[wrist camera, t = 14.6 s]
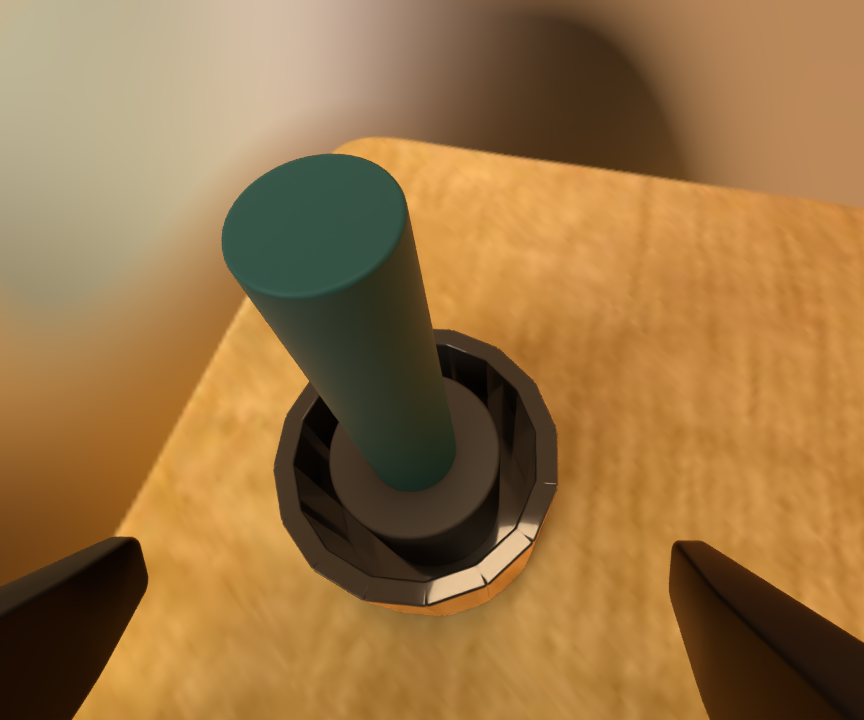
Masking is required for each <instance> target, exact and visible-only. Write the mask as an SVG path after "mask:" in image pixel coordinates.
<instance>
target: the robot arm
mask: <svg viewBox="0 0 864 720" xmlns="http://www.w3.org/2000/svg"><path fill="white" fill-rule="evenodd" d="M147 586H148V573H147V569H146V565H145V561H144V557H143V553H142V549H141V545H140V543H139V541H138V540H137V539H136V538H134V537H111V538H108V539H106V540H103V541H101V542H99V543H97V544H94V545H92V546H90V547H88V548H86V549H83V550H81V551H79V552H77V553H74V554H72V555H70V556H68V557H65V558H63V559H61V560H59V561H57V562H54V563H52V564H50V565H47V566H45V567H43V568H41V569H38V570H36V571H34V572H32V573H29V574H27V575H25V576H23V577H21V578H18V579H16V580H14V581H12V582H9V583H7V584H5V585H3V586H0V720H72V719H73V717H74V716H75V714H76V713H77V711H78V710H79V708H80V707H81V705H82V704H83V702H84V700H85V699H86V697H87V696H88V694H89V693H90V691H91V690H92V688H93V686H94V685H95V683H96V681H97V680H98V678H99V677H100V675H101V673H102V671H103V669H104V668H105V666H106V664H107V662H108V661H109V659H110V657H111V655H112V653H113V651H114V649H115V648H116V646H117V644H118V642H119V640H120V638H121V636H122V635H123V633H124V631H125V629H126V627H127V625H128V623H129V622H130V620H131V618H132V616H133V614H134V612H135V610H136V609H137V607H138V605H139V603H140V601H141V599H142V597H143V596H144V594H145V592H146V589H147ZM669 594H670V599H671V603H672V606H673V609H674V612H675V616H676V619H677V622H678V625H679V628H680V632H681V635H682V638H683V641H684V645H685V648H686V651H687V654H688V657H689V661H690V664H691V667H692V670H693V674H694V677H695V680H696V683H697V686H698V689H699V692H700V695H701V698H702V701H703V703H704V706H705V708H706V711H707V713H708V716H709V718H710V720H864V643H863V642H862V641H860V640H859V639H857V638H855V637H854V636H852V635H851V634H849V633H848V632H846V631H844V630H843V629H841V628H840V627H838V626H836V625H835V624H833V623H832V622H830V621H828V620H827V619H825V618H824V617H822V616H821V615H819V614H817V613H816V612H814V611H813V610H811V609H809V608H808V607H806V606H805V605H803V604H802V603H800V602H798V601H797V600H795V599H794V598H792V597H790V596H789V595H787V594H786V593H784V592H783V591H781V590H779V589H778V588H776V587H775V586H773V585H771V584H770V583H768V582H767V581H765V580H764V579H762V578H760V577H759V576H757V575H756V574H754V573H752V572H751V571H749V570H748V569H746V568H744V567H743V566H741V565H740V564H738V563H737V562H735V561H733V560H732V559H730V558H729V557H727V556H725V555H724V554H722V553H721V552H719V551H718V550H716V549H714V548H713V547H711V546H710V545H708V544H706V543H705V542H703V541H681V540H678V541H676V542H675V543H674V544H673V546H672V551H671V563H670V576H669Z"/></svg>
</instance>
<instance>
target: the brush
mask: <svg viewBox="0 0 864 720" xmlns="http://www.w3.org/2000/svg"><path fill="white" fill-rule="evenodd" d="M222 251H223V256H224V260H225V262H226V264H227V266H228V268H229V270H230V271H231V273H232V274H233V276H234V277H235V279H236V280H237V281H238V283H239V284H240V285H241V287H242V288H243V290H244V291H245V292H246V294H247V295H248V297H249V298H250V299H251V301H252V302H253V304H254V305H255V306H256V308H257V309H258V310H259V312H260V313H261V315H262V316H263V317H264V319H265V320H266V322H267V323H268V324H269V326H270V327H271V328H272V330H273V331H274V333H275V334H276V335H277V337H278V338H279V340H280V341H281V342H282V344H283V345H284V346H285V348H286V349H287V351H288V352H289V353H290V355H291V356H292V358H293V359H294V360H295V362H296V363H297V364H298V366H299V367H300V369H301V370H302V371H303V373H304V374H305V376H306V377H307V378H308V380H309V381H310V382H311V384H312V385H313V387H314V388H315V389H316V391H317V392H318V394H319V395H320V396H321V398H322V399H323V400H324V402H325V403H326V405H327V406H328V407H329V409H330V410H331V412H332V413H333V414H334V416H335V417H336V418H337V420H338V421H339V423H338V425H337V427H336V430H335V432H334V435H333V438H332V442H331V447H330V455H329V467H330V474H331V479H332V483H333V486H334V489H335V491H336V494H337V496H338V498H339V500H340V501H341V503H342V505H343V506H344V508H345V509H346V510H347V511H348V512H349V514H350V515H351V516H352V517H353V518H355V519H356V520H357V521H358V522H359V523H360V524H361V525H362V526H364V527H365V528H366V529H367V530H368V531H370V532H371V533H372V534H373V535H374V536H375V537H377V538H378V539H379V540H380V541H381V542H382V543H384V544H385V545H386V546H387V547H388V548H389V549H391V550H392V551H393V552H394V553H396V554H397V555H399V556H400V557H402V558H404V559H406V560H408V561H411V562H414V563H417V564H423V565H443V564H448V563H451V562H455V561H457V560H459V559H462V558H464V557H465V556H467V555H469V554H470V553H472V552H473V551H474V550H475V549H477V548H478V547H479V546H480V545H481V543H482V542H483V541H484V540H485V539H486V537H487V536H488V535H489V533H490V531H491V529H492V527H493V525H494V523H495V520H496V518H497V513H498V509H499V497H500V441H499V435H498V431H497V428H496V425H495V422H494V420H493V418H492V416H491V414H490V412H489V411H488V409H487V408H486V406H485V405H484V404H483V402H482V401H481V400H480V399H479V398H478V397H477V396H476V395H475V394H474V393H473V392H472V391H471V390H469V389H468V388H466V387H465V386H463V385H462V384H460V383H458V382H456V381H454V380H452V379H449V378H446V377H443V376H442V372H441V367H440V362H439V358H438V353H437V348H436V343H435V338H434V333H433V328H432V323H431V319H430V314H429V309H428V304H427V299H426V294H425V289H424V285H423V280H422V275H421V270H420V265H419V260H418V255H417V250H416V246H415V241H414V236H413V231H412V226H411V221H410V216H409V212H408V207H407V202H406V199H405V195H404V193H403V191H402V189H401V187H400V186H399V184H398V183H397V181H396V180H395V179H394V178H393V177H392V176H391V175H390V174H389V173H388V172H387V171H386V170H385V169H383V168H382V167H380V166H379V165H377V164H375V163H373V162H371V161H369V160H366V159H363V158H360V157H356V156H352V155H344V154H320V155H314V156H308V157H304V158H300V159H296V160H293V161H290V162H288V163H285V164H283V165H281V166H278V167H276V168H274V169H272V170H271V171H269V172H267V173H265V174H264V175H263V176H261V177H260V178H258V179H257V180H256V181H254V182H253V183H252V184H251V185H250V186H248V187H247V188H246V189H245V190H244V191H243V193H242V194H241V195H240V196H239V197H238V198H237V200H236V201H235V202H234V204H233V206H232V207H231V209H230V210H229V213H228V215H227V217H226V219H225V223H224V226H223V230H222Z"/></svg>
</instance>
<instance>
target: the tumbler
mask: <svg viewBox="0 0 864 720" xmlns="http://www.w3.org/2000/svg"><path fill="white" fill-rule="evenodd" d="M433 333H434V338H435V343H436V348H437V353H438V358H439V362H440V367H441V372H442V376H443V377H446V378H449V379H452V380H454V381H456V382H458V383H460V384H462V385H463V386H465V387H466V388H468V389H469V390H471V391H472V392H473V393H474V394H475V395H476V396H477V397H478V398H479V399H480V400H481V401H482V402H483V404H484V405H485V406H486V408H487V409H488V411H489V412H490V414H491V416H492V418H493V420H494V422H495V425H496V428H497V431H498V435H499V441H500V497H499V509H498V513H497V518H496V520H495V523H494V525H493V527H492V529H491V531H490V533H489V535H488V536H487V537H486V539H485V540H484V541H483V542H482V543H481V545H480V546H479V547H478V548H477V549H475V550H474V551H473V552H472V553H470V554H469V555H467V556H465V557H464V558H462V559H459V560H457V561H455V562H451V563H448V564H443V565H423V564H417V563H414V562H411V561H408V560H406V559H404V558H402V557H400V556H399V555H397V554H396V553H394V552H393V551H392V550H391V549H389V548H388V547H387V546H386V545H385V544H384V543H382V542H381V541H380V540H379V539H378V538H377V537H375V536H374V535H373V534H372V533H371V532H370V531H368V530H367V529H366V528H365V527H364V526H362V525H361V524H360V523H359V522H358V521H357V520H356V519H355V518H353V517H352V516H351V515H350V514H349V512H348V511H347V510H346V509H345V508H344V506H343V505H342V503H341V501H340V500H339V498H338V496H337V494H336V491H335V489H334V486H333V483H332V479H331V474H330V467H329V455H330V447H331V442H332V438H333V435H334V432H335V430H336V427H337V425H338V423H339V421H338V420H337V418H336V417H335V416H334V414H333V413H332V412H331V410H330V409H329V407H328V406H327V405H326V403H325V402H324V400H323V399H322V398H321V396H320V395H319V394H318V392H317V391H316V389H315V388H314V387H313V385H312V384H311V382H310V381H309V383H308V384H307V385H306V387H305V388H304V390H303V391H302V393H301V394H300V396H299V397H298V399H297V400H296V402H295V403H294V405H293V406H292V408H291V409H290V410H289V412H288V413H287V417H286V418H285V421H284V425H283V430H282V434H281V438H280V442H279V446H278V450H277V454H276V458H275V462H274V477H275V483H276V490H277V496H278V503H279V509H280V516H281V520H282V521H283V525H284V527H285V528H286V530H287V532H288V533H289V535H290V536H291V538H292V539H293V541H294V542H295V544H296V545H297V547H298V548H299V550H300V552H301V553H302V555H303V556H304V558H305V559H306V561H307V562H308V564H309V565H310V567H311V568H312V569H313V570H314V571H315V572H316V573H318V574H320V575H321V576H323V577H325V578H326V579H328V580H329V581H331V582H333V583H334V584H336V585H338V586H339V587H341V588H342V589H344V590H346V591H347V592H349V593H351V594H352V595H354V596H356V597H357V598H359V599H360V600H363V601H366V602H369V603H372V604H376V605H379V606H383V607H386V608H389V609H393V610H396V611H400V612H407V613H416V614H422V615H436V616H448V615H451V614H455V613H458V612H462V611H466V610H469V609H472V608H474V607H476V606H479V605H481V604H483V603H485V602H488V601H489V600H491V599H493V598H494V597H495V596H496V595H497V594H498V593H500V592H501V591H502V590H503V589H505V588H506V587H507V586H508V585H509V584H510V583H511V582H512V581H513V579H514V578H515V577H516V576H517V575H518V574H519V573H520V572H521V571H522V570H523V569H524V567H525V566H526V564H527V562H528V560H529V557H530V555H531V552H532V550H533V548H534V545H535V543H536V541H537V538H538V536H539V533H540V531H541V529H542V526H543V524H544V521H545V519H546V516H547V514H548V511H549V509H550V506H551V504H552V501H553V499H554V497H555V494H556V492H557V486H558V440H557V431H556V426H555V424H554V422H553V420H552V418H551V415H550V413H549V411H548V409H547V407H546V404H545V402H544V400H543V398H542V396H541V393H540V391H539V389H538V387H537V385H536V383H534V381H533V380H532V379H531V378H530V377H529V376H528V375H527V374H526V373H525V372H524V371H523V370H521V369H520V368H519V367H518V366H517V365H516V364H515V363H514V362H513V361H512V360H511V359H510V358H509V357H507V356H506V355H505V354H504V353H503V352H502V351H501V350H500V349H497V347H495V346H492V345H490V344H487V343H485V342H482V341H480V340H477V339H475V338H472V337H470V336H467V335H465V334H462V333H459V332H457V331H454V330H453V331H452V330H448V329H433Z"/></svg>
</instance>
